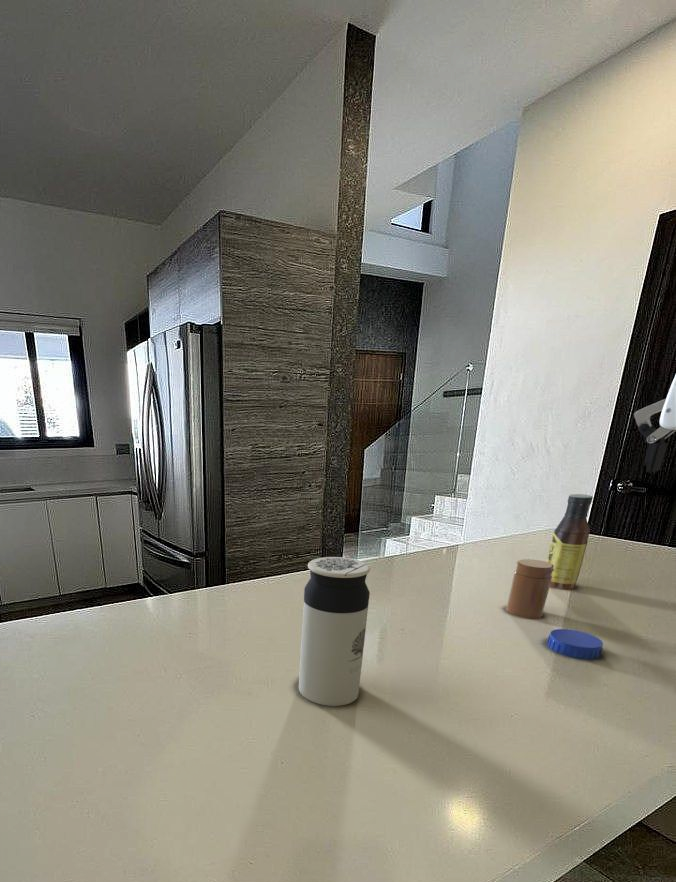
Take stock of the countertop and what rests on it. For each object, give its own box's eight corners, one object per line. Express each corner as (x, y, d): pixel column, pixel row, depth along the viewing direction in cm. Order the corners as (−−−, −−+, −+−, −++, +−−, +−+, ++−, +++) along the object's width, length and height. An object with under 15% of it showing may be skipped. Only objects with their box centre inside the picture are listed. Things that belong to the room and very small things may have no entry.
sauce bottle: (547, 579, 109) (569, 491, 102) (579, 586, 105) (604, 495, 98) (536, 586, 105) (558, 494, 98) (569, 593, 101) (594, 498, 94)
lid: (611, 659, 74) (615, 645, 73) (572, 663, 72) (576, 649, 72) (572, 639, 80) (575, 627, 79) (536, 643, 79) (539, 630, 78)
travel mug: (286, 689, 66) (292, 563, 59) (323, 671, 70) (333, 552, 64) (333, 715, 60) (345, 579, 53) (370, 693, 65) (385, 565, 58)
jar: (530, 608, 93) (542, 559, 90) (548, 620, 88) (562, 568, 84) (499, 608, 93) (510, 558, 90) (515, 620, 88) (527, 567, 84)
